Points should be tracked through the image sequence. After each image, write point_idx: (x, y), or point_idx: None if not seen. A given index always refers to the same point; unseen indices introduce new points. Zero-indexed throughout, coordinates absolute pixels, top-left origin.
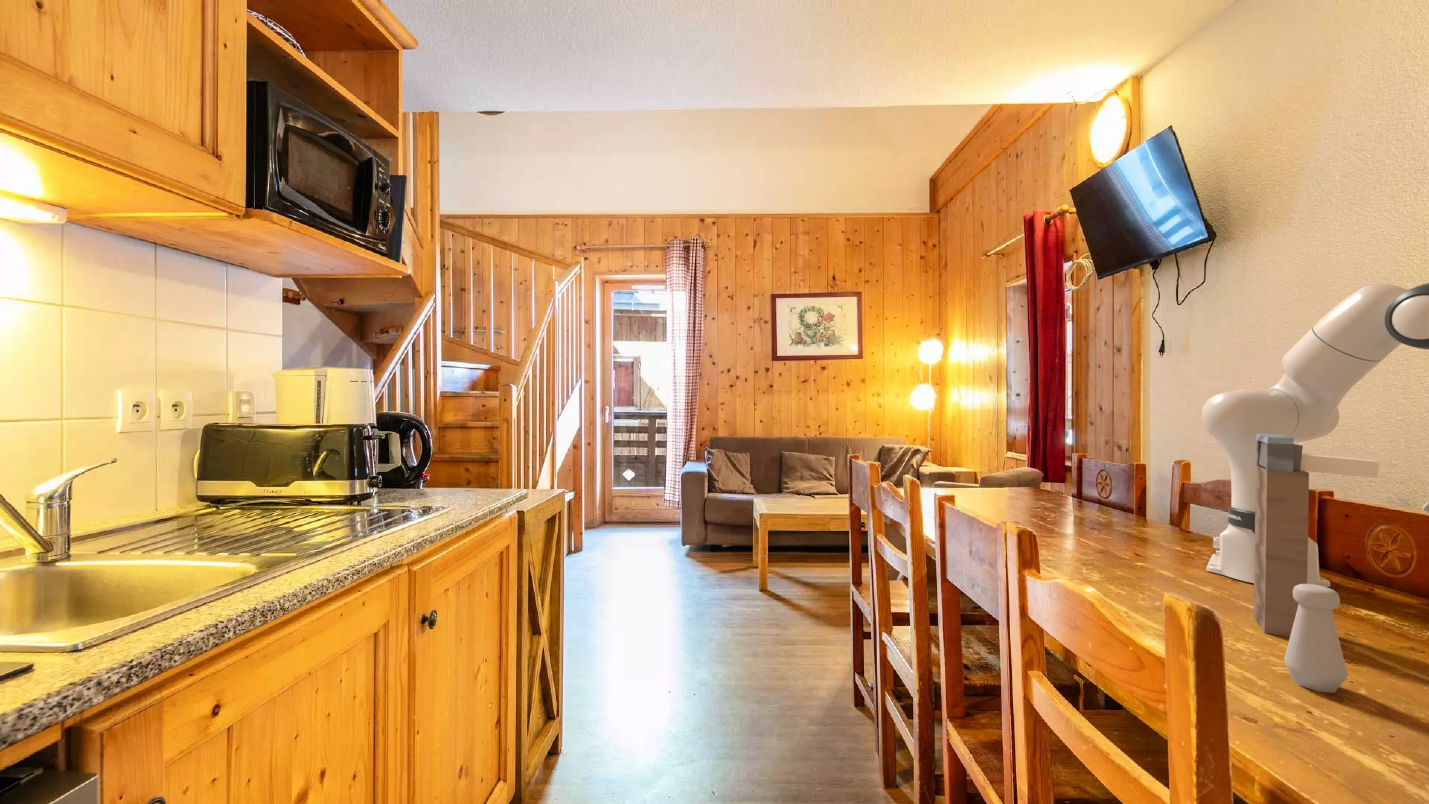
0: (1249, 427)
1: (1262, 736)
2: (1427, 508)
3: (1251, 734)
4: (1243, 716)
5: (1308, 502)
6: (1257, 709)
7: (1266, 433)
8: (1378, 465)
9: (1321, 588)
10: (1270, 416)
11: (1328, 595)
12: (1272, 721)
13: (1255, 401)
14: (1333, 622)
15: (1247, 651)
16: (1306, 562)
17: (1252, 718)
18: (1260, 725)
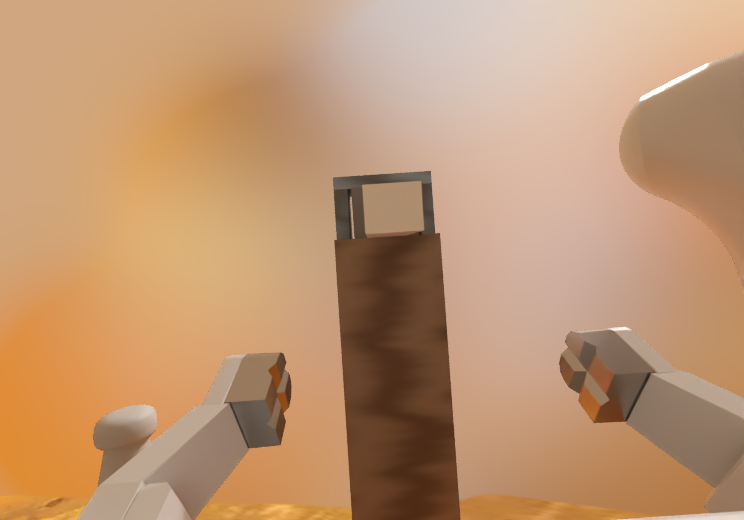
0: (654, 156)
1: (16, 508)
2: (562, 358)
3: (24, 502)
4: (62, 499)
5: (339, 301)
6: (74, 509)
7: (709, 157)
8: (364, 196)
9: (115, 413)
10: (711, 110)
11: (97, 422)
12: (43, 517)
13: (677, 89)
14: (103, 471)
15: (258, 513)
16: (346, 425)
17: (56, 504)
18: (38, 508)
